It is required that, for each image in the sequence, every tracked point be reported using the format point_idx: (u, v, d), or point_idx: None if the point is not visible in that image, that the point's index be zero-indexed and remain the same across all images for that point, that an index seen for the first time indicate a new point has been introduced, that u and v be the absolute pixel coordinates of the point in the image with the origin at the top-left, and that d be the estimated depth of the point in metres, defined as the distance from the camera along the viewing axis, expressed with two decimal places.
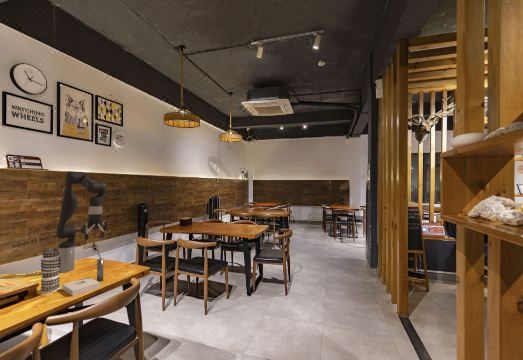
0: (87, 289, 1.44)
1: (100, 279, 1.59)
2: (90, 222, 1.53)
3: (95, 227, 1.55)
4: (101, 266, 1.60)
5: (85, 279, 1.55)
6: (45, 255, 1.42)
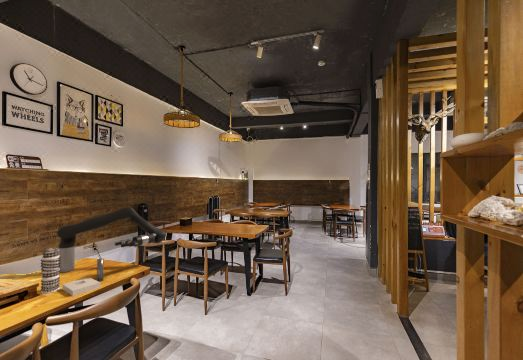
0: (87, 289, 1.44)
1: (100, 279, 1.59)
2: None
3: None
4: (101, 266, 1.60)
5: (85, 279, 1.55)
6: (45, 255, 1.42)
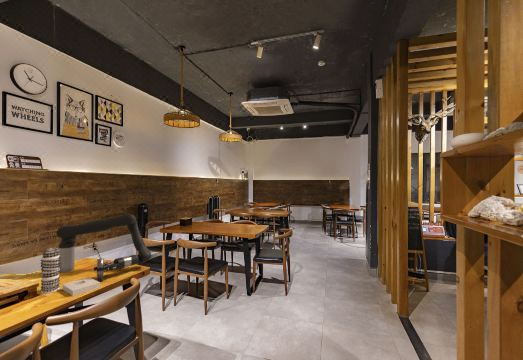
0: (87, 289, 1.44)
1: (100, 279, 1.59)
2: None
3: None
4: (101, 266, 1.60)
5: (85, 279, 1.55)
6: (45, 255, 1.42)
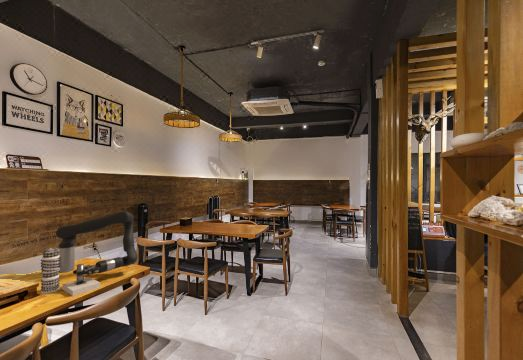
0: (87, 289, 1.44)
1: None
2: None
3: None
4: None
5: (85, 279, 1.55)
6: (45, 255, 1.42)
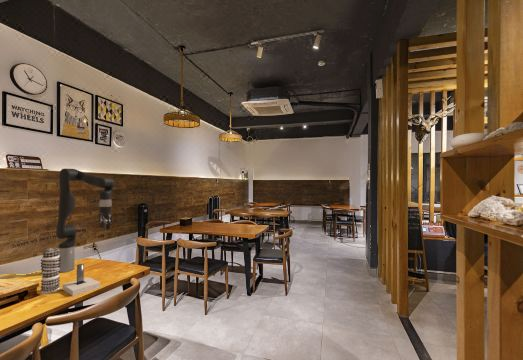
0: (87, 289, 1.44)
1: None
2: None
3: None
4: (81, 272, 1.49)
5: (85, 279, 1.55)
6: (45, 255, 1.43)
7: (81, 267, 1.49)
